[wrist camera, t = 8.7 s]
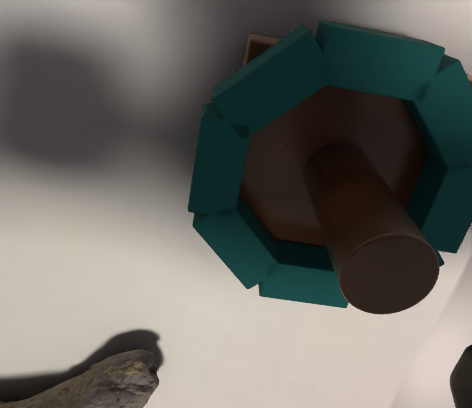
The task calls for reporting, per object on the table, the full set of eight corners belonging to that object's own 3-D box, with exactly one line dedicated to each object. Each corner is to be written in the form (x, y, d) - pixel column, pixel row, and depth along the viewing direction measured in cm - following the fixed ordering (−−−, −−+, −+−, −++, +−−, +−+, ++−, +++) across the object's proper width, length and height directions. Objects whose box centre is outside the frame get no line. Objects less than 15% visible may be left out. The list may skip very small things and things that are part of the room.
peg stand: (213, 230, 19) (201, 372, 12) (248, 32, 15) (259, 81, 8) (392, 257, 19) (474, 405, 13) (469, 74, 16) (639, 150, 9)
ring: (181, 260, 18) (176, 285, 16) (219, 0, 13) (217, 3, 12) (409, 293, 18) (424, 319, 17) (517, 58, 14) (549, 68, 13)
